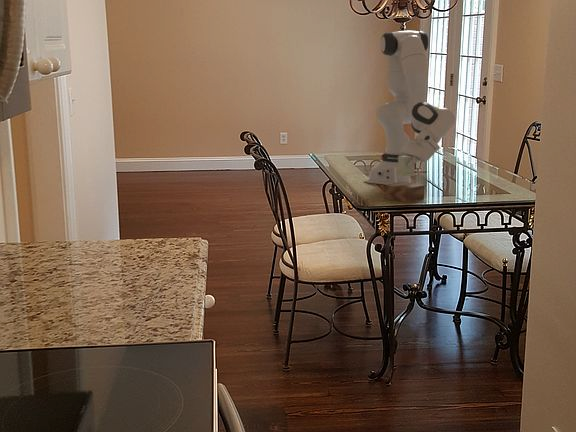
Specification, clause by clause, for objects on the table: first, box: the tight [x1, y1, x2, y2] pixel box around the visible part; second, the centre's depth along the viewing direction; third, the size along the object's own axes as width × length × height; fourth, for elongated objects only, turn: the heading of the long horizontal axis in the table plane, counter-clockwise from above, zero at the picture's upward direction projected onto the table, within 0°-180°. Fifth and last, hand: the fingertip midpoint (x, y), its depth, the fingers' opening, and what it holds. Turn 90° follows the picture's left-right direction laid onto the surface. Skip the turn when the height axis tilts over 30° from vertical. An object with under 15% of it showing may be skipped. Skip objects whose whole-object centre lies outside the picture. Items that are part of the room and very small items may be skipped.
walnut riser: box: [384, 182, 426, 203], centre depth 304 cm, size 12×12×6 cm
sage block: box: [396, 155, 417, 177], centre depth 301 cm, size 6×6×8 cm
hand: (404, 164), depth 301 cm, fingers closed on sage block, 5 cm apart
